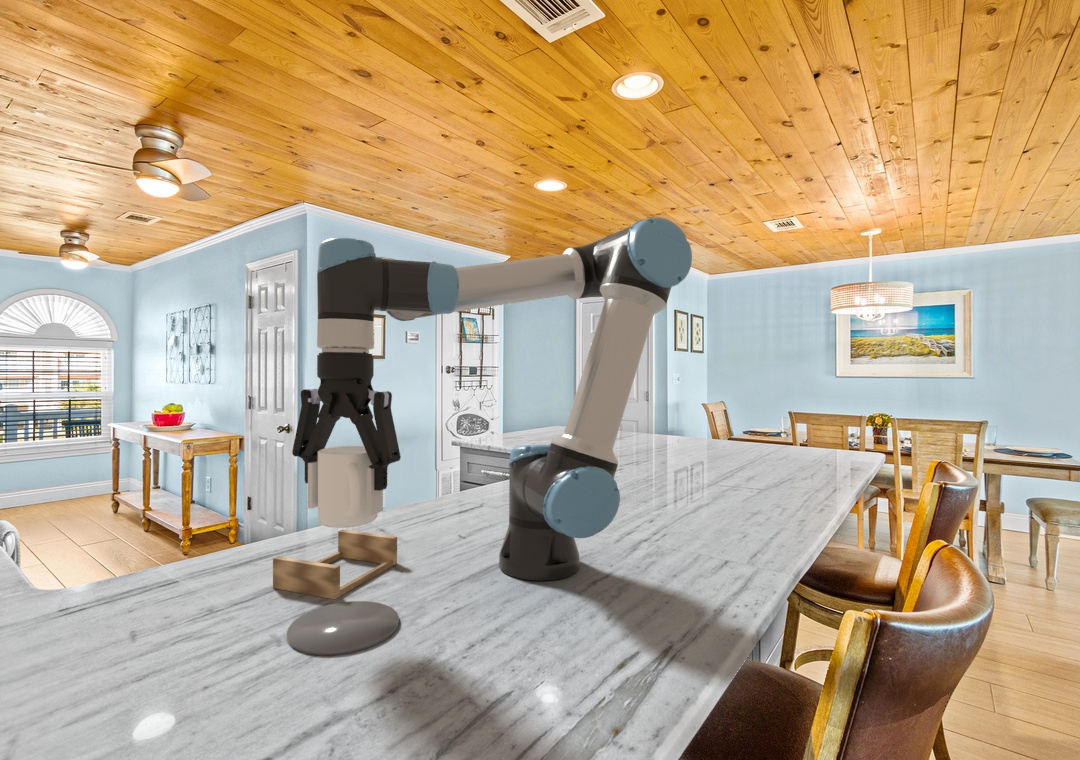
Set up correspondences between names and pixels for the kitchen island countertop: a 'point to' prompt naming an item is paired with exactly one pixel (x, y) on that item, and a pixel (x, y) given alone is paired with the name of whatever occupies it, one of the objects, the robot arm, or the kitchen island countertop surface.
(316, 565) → the caddy
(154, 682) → the kitchen island countertop surface
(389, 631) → the coaster
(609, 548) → the kitchen island countertop surface
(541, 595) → the kitchen island countertop surface
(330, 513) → the mug
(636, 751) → the kitchen island countertop surface
